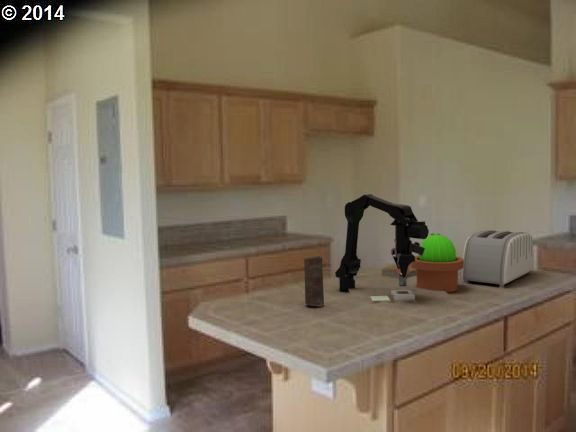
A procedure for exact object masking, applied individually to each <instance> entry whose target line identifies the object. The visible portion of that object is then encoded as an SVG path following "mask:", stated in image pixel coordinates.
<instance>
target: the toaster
mask: <svg viewBox="0 0 576 432" xmlns="http://www.w3.org/2000/svg"><path fill="white" fill-rule="evenodd" d="M534 253H535V251H534V243H533V237H532V235H531V234H530V233H528V232H526V231H516V232H511V231H509V230H508V231H507V230H506V231H505V230H501V231H496V230H493V229H487V230H480V231H477V232H474V233H472V234H471V235H469V236H468V237H467V238H466V239H465V243H464V248H463V253H462V258H463V260H464V262H463V269H461V278H462V279H463V284H466V285H467V284H468V285H469V281H470V282H478V283H484V284H485V283H487V284H494V285H499V286H498V288H499V289H504V288H505V285H506V284H508V283H510V282H512V281H514V280H516V279H519V278H520V277H523V276H525V275H526V274H527V275H532V271H533V270H534V269H535V254H534Z"/></svg>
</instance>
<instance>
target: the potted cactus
mask: <svg viewBox="0 0 576 432" xmlns="http://www.w3.org/2000/svg"><path fill="white" fill-rule="evenodd" d="M420 246H422V247H424V248H425V250H424V253H423V256H421V255H419V254H418V255H414V256H415V262H412V263H411V266H412V268H414V269H417V275H416V288H419V289H425V290H431V291H444V292H445V293H446V294H449V293H454V292H456V291H457V290H458V287H459V281H458V280H459V278H458V277H459V272H458V271H460V270H461V271H462V269H463V262H464V260H463V257H460V256H457V252H456V251H457V249H456V246H455V245H454V243H453V242H452V240H451V239H450V238H449V237H448V236H447V237H446V236H445V235H443V234H442V233H437V234H435V233H430V234H428V236H427V238H426V239H423V241H421V243H420Z"/></svg>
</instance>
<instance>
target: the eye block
mask: <svg viewBox="0 0 576 432" xmlns="http://www.w3.org/2000/svg"><path fill="white" fill-rule="evenodd" d="M390 295H391V297H392V299H393V300H394V301H415V300H416V294H415V292H413V291H412V290H411V289H403V290H402V289H397V290H394V289H393V290H390Z"/></svg>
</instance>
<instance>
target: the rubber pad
mask: <svg viewBox="0 0 576 432" xmlns="http://www.w3.org/2000/svg"><path fill="white" fill-rule="evenodd" d="M370 298H371V299H372V301H390V299H389V298H388V296H370Z"/></svg>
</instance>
